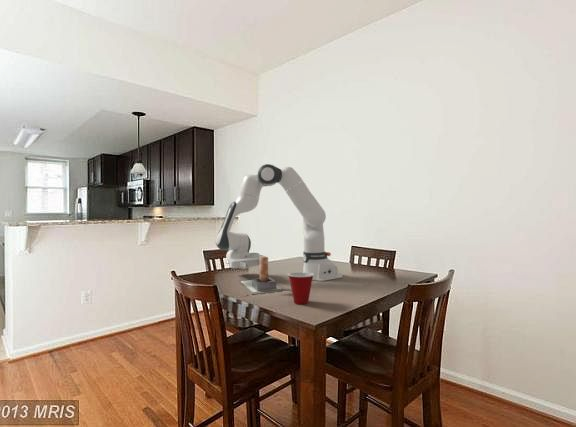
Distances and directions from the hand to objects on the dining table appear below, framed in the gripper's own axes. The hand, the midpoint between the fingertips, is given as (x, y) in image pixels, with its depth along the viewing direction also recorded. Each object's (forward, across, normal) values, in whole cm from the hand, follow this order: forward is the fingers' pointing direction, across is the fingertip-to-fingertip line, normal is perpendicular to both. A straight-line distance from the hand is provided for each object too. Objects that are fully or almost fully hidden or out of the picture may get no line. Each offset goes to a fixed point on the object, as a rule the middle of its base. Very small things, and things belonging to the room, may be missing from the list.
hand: (255, 264), depth 159 cm
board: (+3, +1, +11) cm, 11 cm away
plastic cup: (+33, +4, +11) cm, 35 cm away
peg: (+8, 0, +10) cm, 13 cm away
